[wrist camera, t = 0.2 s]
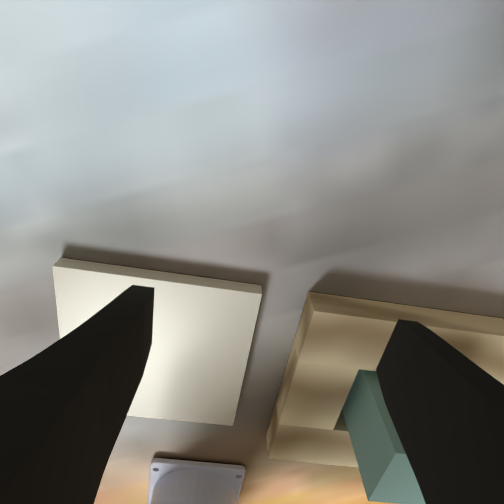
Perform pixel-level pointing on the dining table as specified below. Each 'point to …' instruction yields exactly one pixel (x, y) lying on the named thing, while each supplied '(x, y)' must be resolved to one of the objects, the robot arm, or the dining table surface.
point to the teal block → (378, 444)
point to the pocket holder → (356, 368)
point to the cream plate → (173, 335)
